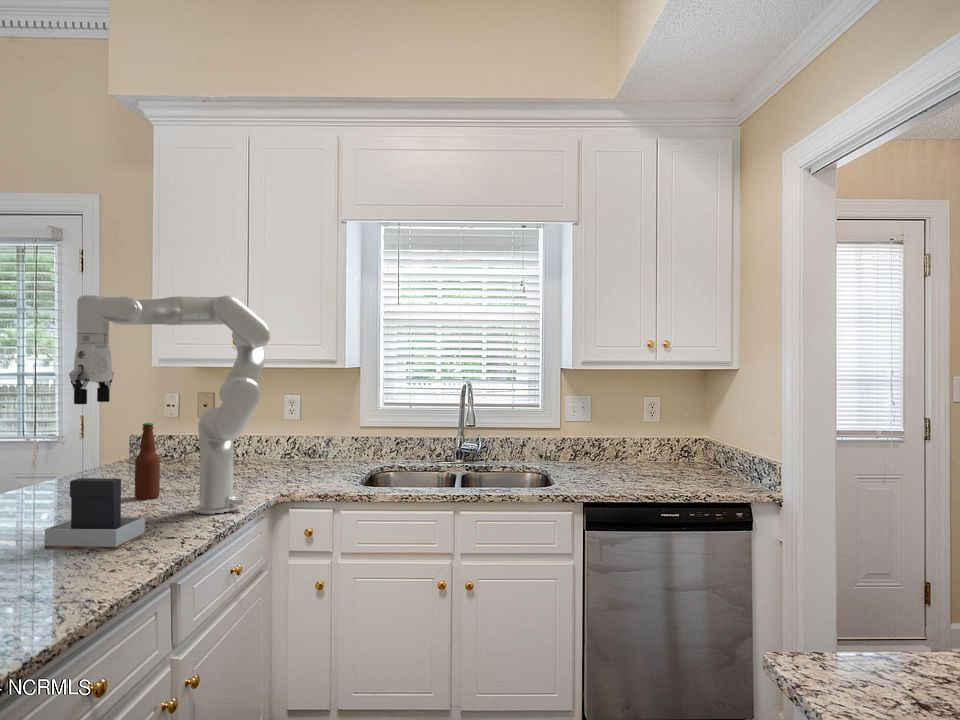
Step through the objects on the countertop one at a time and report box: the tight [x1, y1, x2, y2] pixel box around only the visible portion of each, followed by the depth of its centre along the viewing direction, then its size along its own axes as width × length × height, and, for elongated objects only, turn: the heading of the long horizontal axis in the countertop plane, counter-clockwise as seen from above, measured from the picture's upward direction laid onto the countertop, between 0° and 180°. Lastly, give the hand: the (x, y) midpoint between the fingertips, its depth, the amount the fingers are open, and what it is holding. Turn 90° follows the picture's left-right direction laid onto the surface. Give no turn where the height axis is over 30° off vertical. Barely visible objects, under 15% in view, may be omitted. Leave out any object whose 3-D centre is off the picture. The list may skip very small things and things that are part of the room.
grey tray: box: [44, 516, 146, 547], centre depth 157 cm, size 18×13×4 cm
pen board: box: [44, 532, 146, 550], centre depth 157 cm, size 18×13×1 cm
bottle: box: [134, 422, 161, 501], centre depth 207 cm, size 7×7×25 cm
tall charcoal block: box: [69, 477, 122, 530], centre depth 157 cm, size 11×4×15 cm, turn 89°
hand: (92, 402), depth 170 cm, fingers open, 9 cm apart
